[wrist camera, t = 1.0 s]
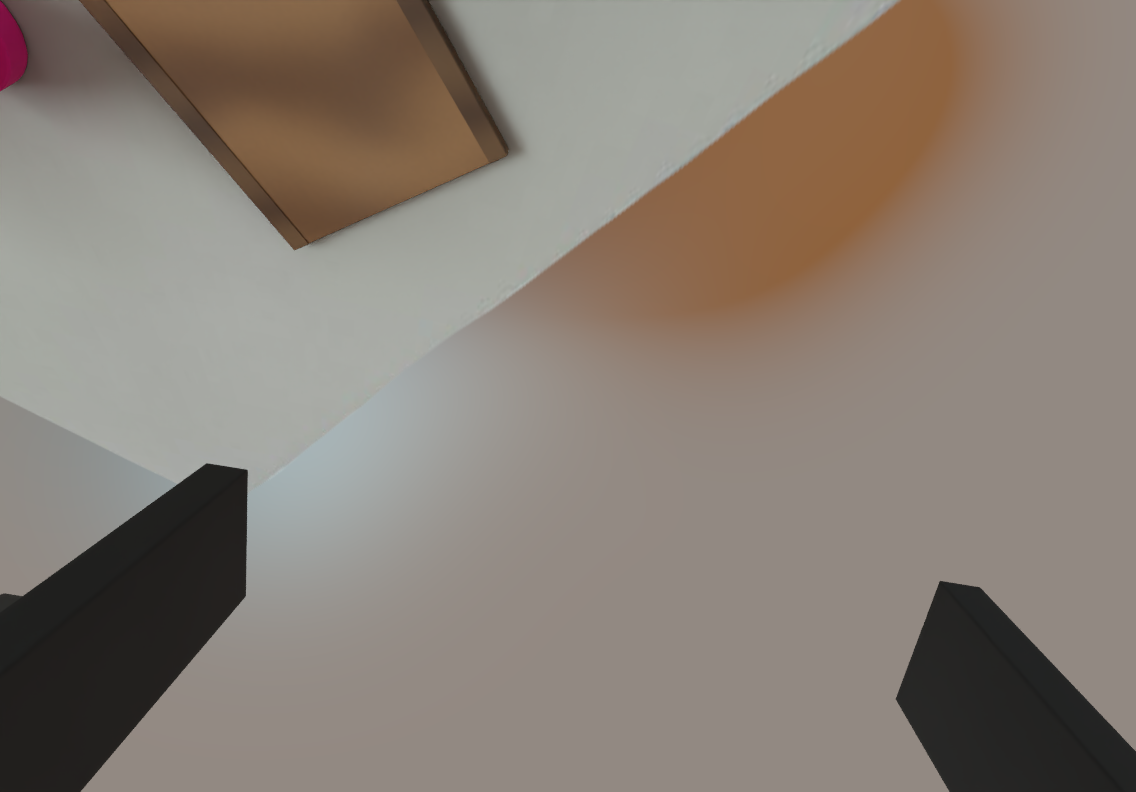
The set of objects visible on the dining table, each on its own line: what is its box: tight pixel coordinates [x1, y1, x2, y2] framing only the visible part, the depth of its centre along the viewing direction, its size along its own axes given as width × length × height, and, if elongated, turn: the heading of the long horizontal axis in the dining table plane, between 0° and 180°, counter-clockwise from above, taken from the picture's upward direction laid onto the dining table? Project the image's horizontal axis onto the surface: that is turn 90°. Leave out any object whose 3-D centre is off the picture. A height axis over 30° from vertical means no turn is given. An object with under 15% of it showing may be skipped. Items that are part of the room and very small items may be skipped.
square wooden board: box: [79, 0, 509, 250], centre depth 37 cm, size 18×16×1 cm
